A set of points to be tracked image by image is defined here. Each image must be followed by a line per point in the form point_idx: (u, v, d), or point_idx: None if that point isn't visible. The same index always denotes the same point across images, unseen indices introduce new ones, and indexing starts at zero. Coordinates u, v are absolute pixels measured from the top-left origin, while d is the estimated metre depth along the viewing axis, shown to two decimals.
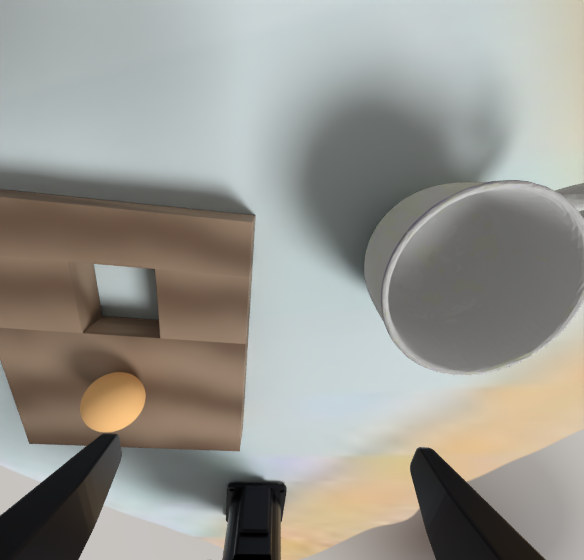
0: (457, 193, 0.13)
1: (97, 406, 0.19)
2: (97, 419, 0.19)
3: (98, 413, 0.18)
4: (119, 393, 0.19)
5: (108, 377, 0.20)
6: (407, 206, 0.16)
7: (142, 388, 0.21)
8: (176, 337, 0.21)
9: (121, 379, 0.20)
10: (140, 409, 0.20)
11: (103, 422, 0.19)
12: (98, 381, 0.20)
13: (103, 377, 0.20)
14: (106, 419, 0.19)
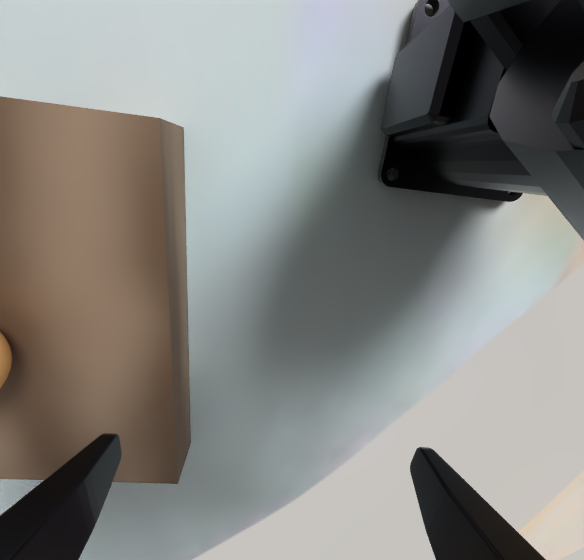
0: None
1: None
2: None
3: None
4: None
5: None
6: None
7: None
8: None
9: None
10: None
11: None
12: None
13: None
14: None
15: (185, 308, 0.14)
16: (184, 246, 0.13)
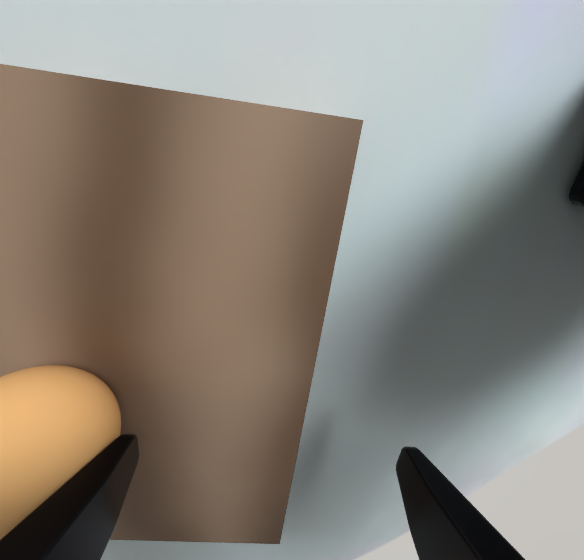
0: None
1: None
2: None
3: None
4: None
5: None
6: None
7: (15, 372, 0.08)
8: None
9: None
10: (19, 399, 0.07)
11: None
12: None
13: None
14: None
15: None
16: None
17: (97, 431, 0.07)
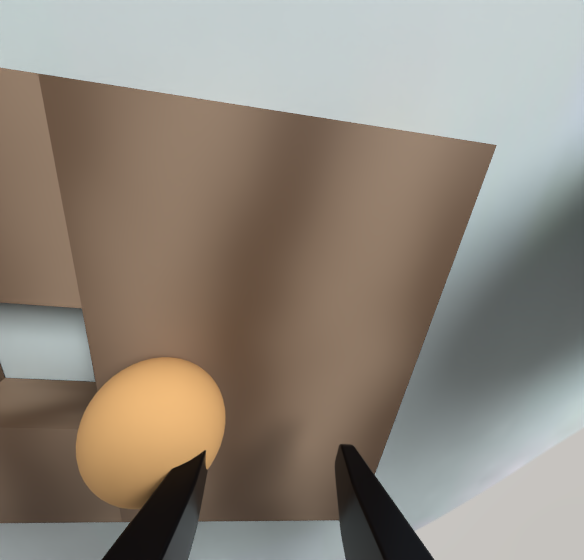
0: None
1: None
2: None
3: None
4: None
5: None
6: None
7: (160, 358, 0.09)
8: (70, 274, 0.09)
9: None
10: (148, 387, 0.07)
11: (79, 461, 0.07)
12: None
13: None
14: (78, 449, 0.07)
15: None
16: None
17: (194, 444, 0.07)
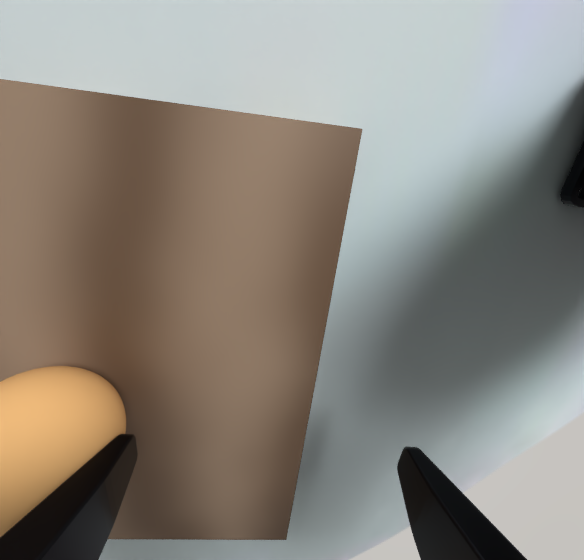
0: None
1: None
2: None
3: None
4: None
5: None
6: None
7: (28, 371, 0.08)
8: None
9: None
10: (26, 396, 0.07)
11: None
12: None
13: None
14: None
15: None
16: None
17: (99, 431, 0.07)
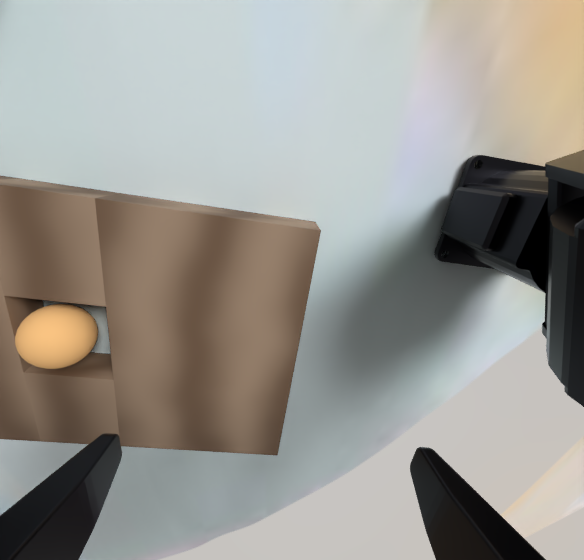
0: None
1: (86, 344, 0.18)
2: (94, 335, 0.18)
3: (90, 339, 0.18)
4: (64, 335, 0.16)
5: (43, 359, 0.16)
6: None
7: (36, 318, 0.16)
8: (101, 288, 0.16)
9: (42, 345, 0.16)
10: (61, 305, 0.18)
11: (94, 329, 0.18)
12: (53, 364, 0.17)
13: (44, 363, 0.16)
14: (92, 328, 0.18)
15: None
16: None
17: None
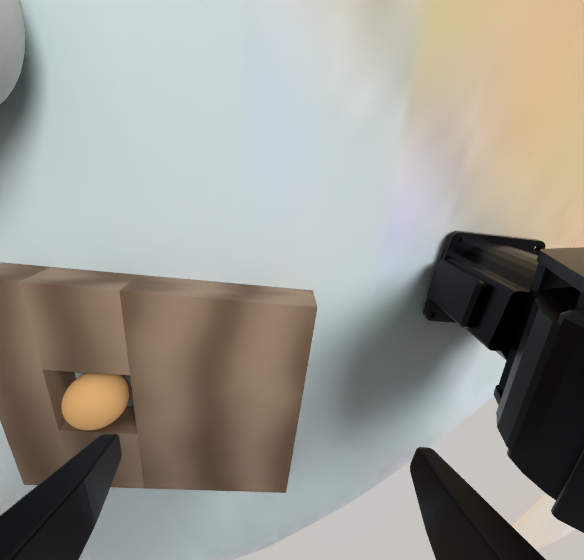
0: None
1: (126, 401, 0.20)
2: (129, 391, 0.21)
3: (128, 395, 0.21)
4: (111, 398, 0.19)
5: (97, 423, 0.19)
6: None
7: (82, 389, 0.19)
8: (125, 361, 0.18)
9: (95, 411, 0.19)
10: (97, 373, 0.20)
11: (128, 385, 0.21)
12: (103, 425, 0.19)
13: (96, 426, 0.19)
14: (127, 386, 0.21)
15: None
16: None
17: None
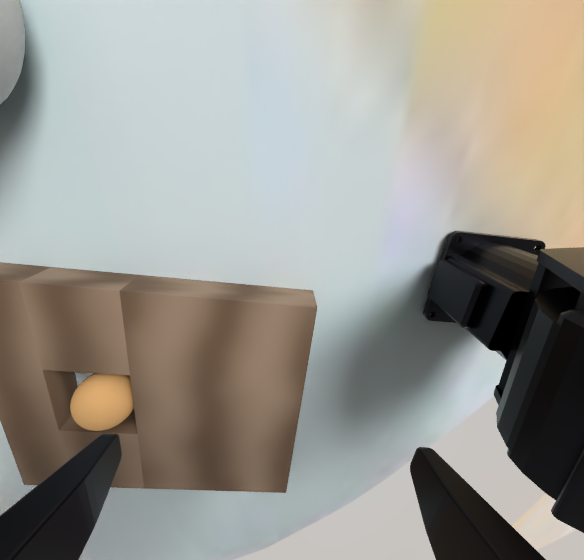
0: None
1: None
2: None
3: None
4: (126, 394, 0.20)
5: (115, 419, 0.19)
6: None
7: (95, 390, 0.19)
8: (125, 361, 0.18)
9: (113, 408, 0.19)
10: None
11: None
12: (120, 421, 0.20)
13: (114, 423, 0.19)
14: None
15: None
16: None
17: None
